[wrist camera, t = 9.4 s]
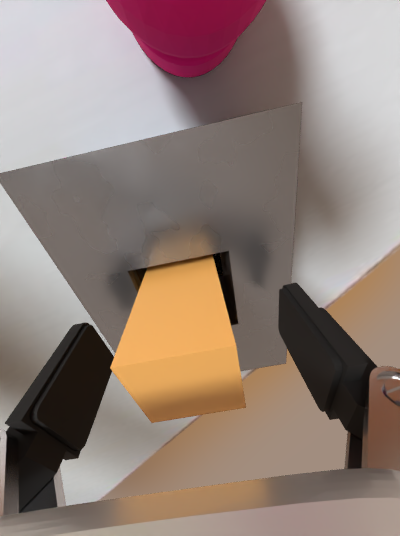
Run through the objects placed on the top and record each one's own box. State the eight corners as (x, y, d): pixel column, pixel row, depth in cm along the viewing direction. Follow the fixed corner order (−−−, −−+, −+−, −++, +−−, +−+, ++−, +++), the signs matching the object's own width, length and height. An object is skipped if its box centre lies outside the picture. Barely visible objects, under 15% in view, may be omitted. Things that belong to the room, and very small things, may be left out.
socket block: (74, 168, 13) (-6, 174, 7) (252, 126, 12) (302, 101, 7) (151, 330, 21) (139, 388, 15) (260, 310, 20) (286, 363, 15)
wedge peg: (157, 239, 15) (110, 368, 6) (205, 228, 15) (236, 345, 6) (171, 278, 17) (151, 422, 8) (213, 270, 17) (245, 407, 8)
